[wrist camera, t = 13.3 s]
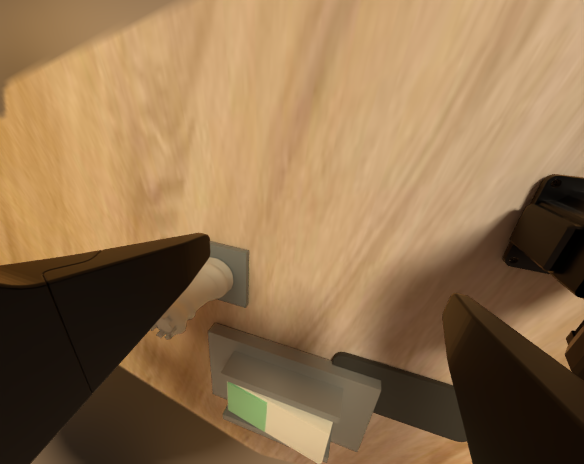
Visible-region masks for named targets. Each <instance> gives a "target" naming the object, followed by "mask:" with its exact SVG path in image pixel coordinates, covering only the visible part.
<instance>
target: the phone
mask: <svg viewBox="0 0 584 464" xmlns="http://www.w3.org/2000/svg"><path fill="white" fill-rule="evenodd" d="M332 365H334V366H337V367H341V368H344V369H347V370H350V371H353V372H356V373H359V374H362V375H365V376H368V377H371V378H374V379H378V380H381V392H380V395H379V398H378V400H377V403H376V405H375V408H374V411H373V413H376V414H379V415H382V416H385V417H388V418H391V419H393V420H396V421H399V422H402V423H405V424H408V425H411V426H413V427H416V428H419V429H422V430H425V431H428V432H431V433H433V434H436V435H439V436H442V437H445V438H448V439H451V440H454V441H458V442H466V441H467V439H466V435H465V431H464V427H463V422H462V418H461V414H460V410H459V406H458V402H457V398H456V394H455V390H454V386H453V385H450V384H446V383H443V382H440V381H437V380H433V379H430V378H427V377H424V376H420V375H417V374H414V373H411V372H407V371H404V370H401V369H398V368H395V367H391V366H389V365H386V364H382V363H379V362H376V361H372V360H369V359H365V358H362V357H359V356H356V355H352V354H349V353H345V352H338V353H336V354H335V355H334V357H333V362H332Z"/></svg>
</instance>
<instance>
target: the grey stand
mask: <svg viewBox="0 0 584 464" xmlns="http://www.w3.org/2000/svg"><path fill="white" fill-rule="evenodd" d="M208 341H209V353H210V366H211V378H212V391H213V394H214V395H217V396H219V397H222V398H224V399H226V400H228V394H227V382H230V383H232V384H235V385H238V386H240V387H243V388H245V389H248V390H251V391H253V392H256V393H258V394H261V395H264V396H266V397H269V398H271V399H274V400H277V401H279V402H282V403H284V404H287V405H290V406H292V407H295V408H297V409H300V410H303V411H305V412H308V413H310V414H313V415H316V416H318V417H321V418H323V419H326V420H329V421H331V422H333V424H332V428H331V432H330V435H329V439H328V443H327V446H326V450H325V453H324V457H323V462H325V463H327V461H328V456H329V449H330V442H333V443H335V444H338V445H340V446H343V447H345V448H348V449H350V450H353V451H355V452H358V449H359V447H360V444H361V442H362V439H363V436H364V434H365V431H366V429H367V426H368V424H369V421H370V418H371V416H372V413H373V411H374V408H375V405H376V403H377V400H378V398H379V395H380V392H381V380H378V379H374V378H371V377H368V376H365V375H362V374H359V373H356V372H353V371H350V370H347V369H344V368H341V367H337V366H334V365H332V362H333V361H331V360H328V359H325V358H321V357H318V356H315V355H312V354H309V353H306V352H303V351H300V350H297V349H294V348H291V347H288V346H285V345H282V344H279V343H276V342H273V341H269V340H266V339H263V338H260V337H257V336H254V335H251V334H248V333H245V332H242V331H239V330H236V329H233V328H230V327H227V326H224V325H221V324H217V323H214V324H213V326H212V327H211V328H210V329H209V331H208ZM223 419H224V420H227V421H229V422H231V423H234V424H236V425H238V426H241V427H243V428H246V429H248V430H250V431H253V432H255V433H257V434H260V435H262V436H264V437H267V438H269V439H271V440H274V441H276V442H278V443H281V444H283V445H285V446H287V445H286V444H284V443H282V442H281V441H279V440H277V439H276V438H274V437H272V436H271V435H269V434H267V433H266V432H264V431H262V430H260V429H259V428H257V427H255V426H254V425H252V424H250V423H249V422H247V421H245V420H244V419H242V418H240V417H239V416H237V415H235V414H234V413H232V412H230V411H229V410H228V405H227V407H226V409H225V411H224V412H223ZM288 447H289V446H288ZM290 448H291V447H290Z"/></svg>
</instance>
